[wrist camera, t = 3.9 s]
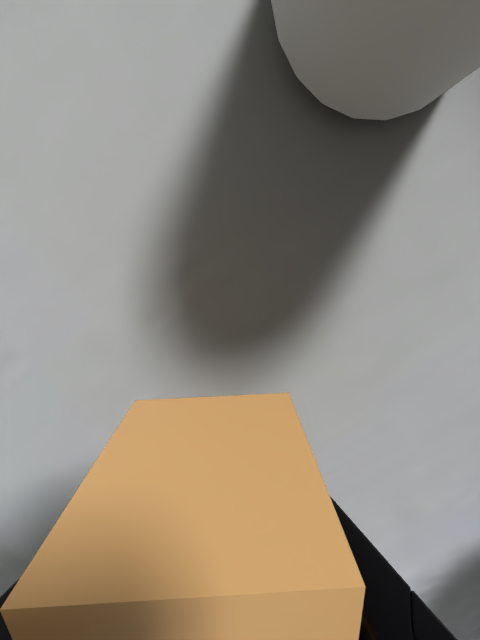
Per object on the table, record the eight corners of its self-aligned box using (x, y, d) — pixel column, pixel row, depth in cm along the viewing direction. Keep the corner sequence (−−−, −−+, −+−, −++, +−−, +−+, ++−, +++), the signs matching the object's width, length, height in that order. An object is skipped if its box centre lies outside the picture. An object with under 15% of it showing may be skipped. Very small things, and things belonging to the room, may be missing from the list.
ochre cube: (288, 392, 8) (365, 586, 4) (287, 510, 10) (341, 767, 5) (134, 400, 8) (-2, 609, 3) (154, 517, 10) (76, 786, 5)
